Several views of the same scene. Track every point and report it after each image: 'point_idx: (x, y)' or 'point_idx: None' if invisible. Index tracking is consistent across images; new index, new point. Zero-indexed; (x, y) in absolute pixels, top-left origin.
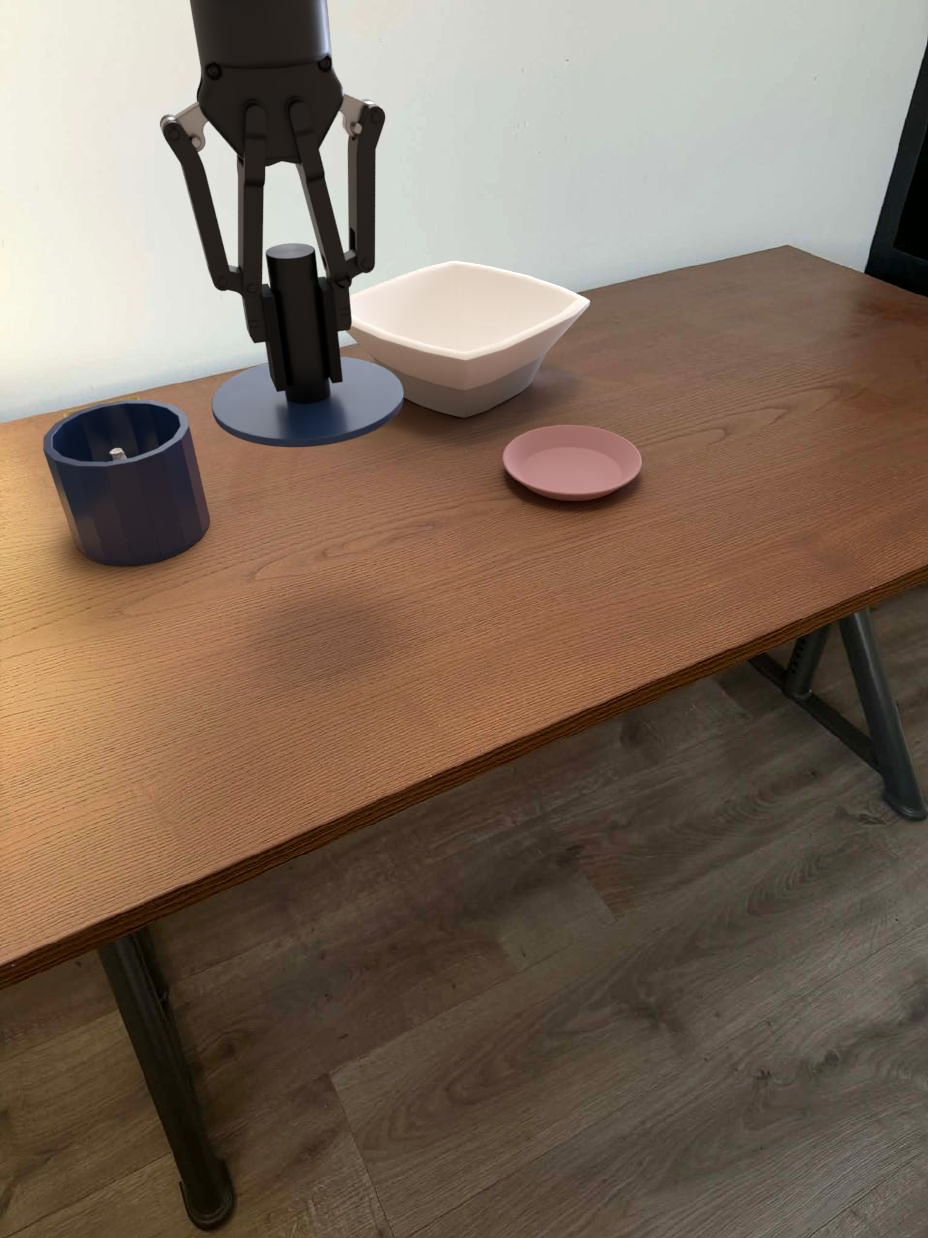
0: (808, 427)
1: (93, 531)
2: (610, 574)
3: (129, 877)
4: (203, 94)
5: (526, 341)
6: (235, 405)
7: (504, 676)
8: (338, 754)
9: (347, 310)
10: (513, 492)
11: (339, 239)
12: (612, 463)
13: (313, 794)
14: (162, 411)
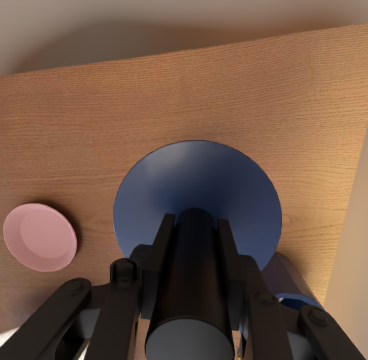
0: None
1: (297, 272)
2: (60, 147)
3: (336, 41)
4: None
5: (15, 328)
6: (260, 232)
7: (137, 96)
8: (228, 78)
9: (133, 257)
10: (80, 231)
11: (93, 334)
12: (22, 232)
13: (247, 57)
14: None
